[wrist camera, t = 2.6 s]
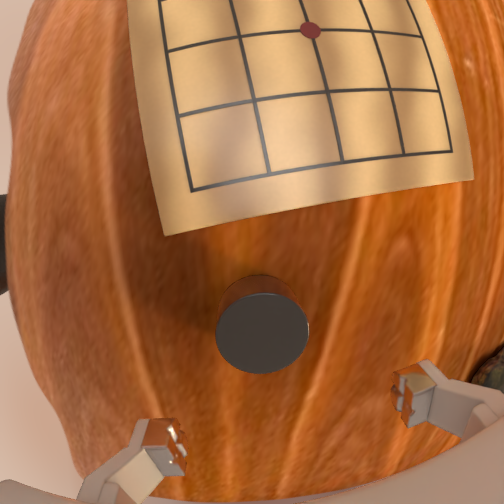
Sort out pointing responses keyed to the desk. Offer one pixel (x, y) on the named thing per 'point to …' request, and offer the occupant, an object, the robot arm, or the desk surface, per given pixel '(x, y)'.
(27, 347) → the desk surface
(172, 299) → the desk surface
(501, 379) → the stone
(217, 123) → the go board
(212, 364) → the desk surface
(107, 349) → the desk surface
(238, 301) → the game stone
